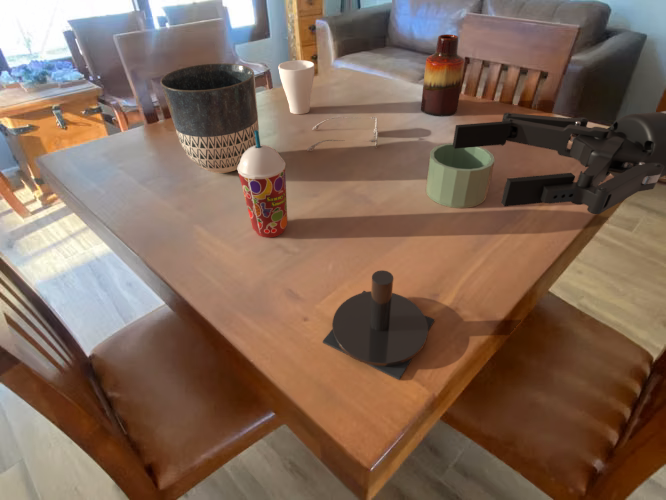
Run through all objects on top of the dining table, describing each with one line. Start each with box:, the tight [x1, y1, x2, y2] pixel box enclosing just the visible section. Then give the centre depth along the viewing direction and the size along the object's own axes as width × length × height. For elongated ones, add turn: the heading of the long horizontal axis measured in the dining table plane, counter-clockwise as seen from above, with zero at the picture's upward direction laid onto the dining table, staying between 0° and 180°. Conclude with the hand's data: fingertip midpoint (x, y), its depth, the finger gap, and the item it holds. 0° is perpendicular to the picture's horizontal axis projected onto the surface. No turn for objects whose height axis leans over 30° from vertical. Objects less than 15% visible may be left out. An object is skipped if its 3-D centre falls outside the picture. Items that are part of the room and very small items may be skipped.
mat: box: [322, 290, 435, 381], centre depth 62 cm, size 12×12×1 cm
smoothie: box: [236, 130, 288, 238], centre depth 77 cm, size 8×8×20 cm
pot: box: [425, 142, 496, 209], centre depth 89 cm, size 13×13×8 cm
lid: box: [331, 269, 429, 366], centre depth 59 cm, size 14×14×10 cm
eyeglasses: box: [306, 116, 379, 152], centre depth 113 cm, size 15×18×4 cm
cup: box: [277, 59, 315, 115], centre depth 128 cm, size 10×10×14 cm
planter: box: [159, 62, 260, 174], centre depth 97 cm, size 20×20×21 cm
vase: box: [420, 33, 466, 117], centre depth 123 cm, size 11×11×20 cm
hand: (477, 161), depth 47 cm, fingers open, 13 cm apart
